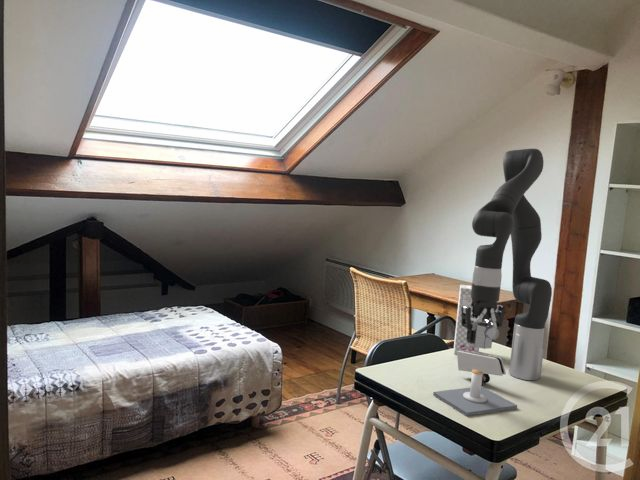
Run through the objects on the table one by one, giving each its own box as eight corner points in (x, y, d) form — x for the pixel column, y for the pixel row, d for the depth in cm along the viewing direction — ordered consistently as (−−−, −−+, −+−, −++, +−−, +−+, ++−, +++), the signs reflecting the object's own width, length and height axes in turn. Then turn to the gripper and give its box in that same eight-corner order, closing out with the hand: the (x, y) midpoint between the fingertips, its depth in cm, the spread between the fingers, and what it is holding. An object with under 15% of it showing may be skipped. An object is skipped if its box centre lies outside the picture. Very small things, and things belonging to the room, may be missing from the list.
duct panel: (481, 389, 150) (484, 360, 149) (516, 408, 137) (520, 377, 137) (433, 395, 142) (436, 364, 142) (466, 416, 130) (469, 383, 129)
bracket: (458, 382, 159) (501, 388, 147) (455, 351, 159) (498, 355, 148) (465, 380, 161) (508, 386, 150) (463, 349, 162) (505, 353, 150)
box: (454, 354, 184) (461, 288, 181) (453, 347, 192) (460, 284, 190) (478, 357, 182) (485, 290, 180) (476, 351, 190) (483, 287, 188)
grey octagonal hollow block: (480, 341, 143) (482, 320, 142) (501, 349, 135) (503, 327, 135) (463, 342, 140) (465, 320, 140) (483, 351, 133) (486, 328, 132)
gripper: (496, 280, 143) (490, 337, 145) (456, 280, 137) (450, 339, 139) (516, 285, 137) (509, 344, 138) (475, 286, 131) (469, 347, 132)
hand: (480, 341), depth 139 cm, fingers closed on grey octagonal hollow block, 6 cm apart
